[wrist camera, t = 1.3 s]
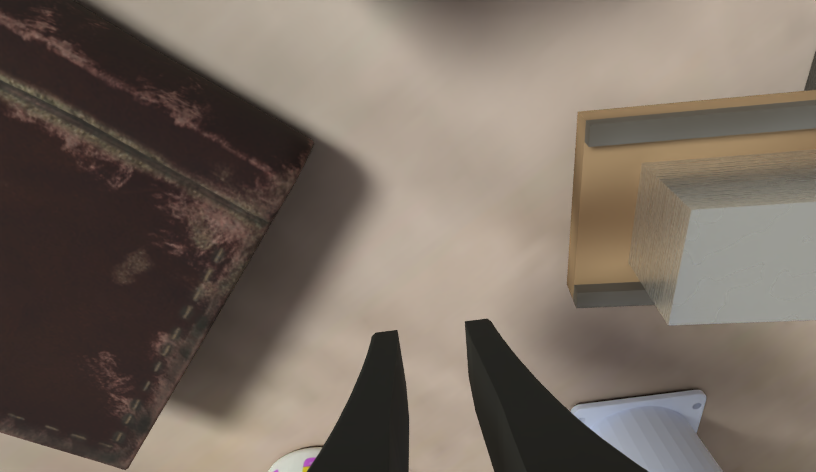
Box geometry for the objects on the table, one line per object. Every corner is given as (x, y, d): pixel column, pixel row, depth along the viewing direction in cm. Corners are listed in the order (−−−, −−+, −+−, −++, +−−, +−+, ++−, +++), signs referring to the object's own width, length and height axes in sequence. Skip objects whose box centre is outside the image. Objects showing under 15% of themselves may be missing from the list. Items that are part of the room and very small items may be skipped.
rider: (784, 254, 18) (863, 318, 15) (628, 262, 19) (668, 325, 16) (819, 148, 16) (919, 195, 13) (641, 162, 17) (691, 210, 14)
